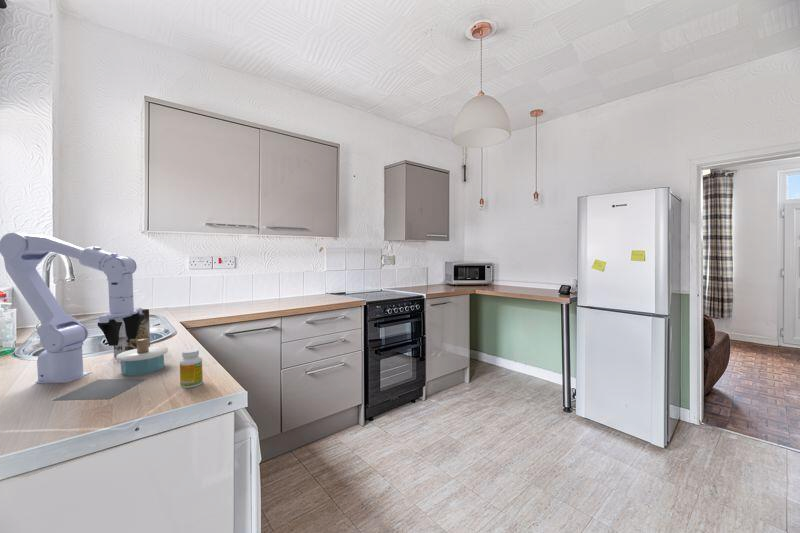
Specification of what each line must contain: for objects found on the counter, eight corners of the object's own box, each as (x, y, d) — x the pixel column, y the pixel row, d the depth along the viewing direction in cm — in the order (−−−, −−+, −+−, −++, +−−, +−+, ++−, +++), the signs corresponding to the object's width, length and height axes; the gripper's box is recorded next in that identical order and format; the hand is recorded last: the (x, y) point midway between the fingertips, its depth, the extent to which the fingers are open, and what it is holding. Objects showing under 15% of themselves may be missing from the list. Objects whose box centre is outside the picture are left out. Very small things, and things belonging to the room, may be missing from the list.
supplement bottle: (198, 387, 96) (197, 352, 95) (176, 389, 95) (175, 354, 94) (205, 380, 101) (204, 347, 100) (185, 381, 100) (184, 348, 99)
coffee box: (128, 358, 122) (126, 313, 121) (113, 357, 123) (111, 312, 123) (151, 351, 131) (149, 308, 130) (137, 350, 132) (135, 308, 132)
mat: (52, 401, 87) (52, 400, 87) (98, 380, 101) (98, 379, 101) (109, 400, 88) (109, 398, 88) (147, 379, 102) (147, 378, 102)
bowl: (112, 376, 104) (111, 360, 104) (138, 365, 115) (137, 350, 115) (149, 376, 105) (148, 359, 104) (171, 364, 115) (171, 349, 115)
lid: (105, 361, 103) (104, 345, 103) (136, 349, 116) (136, 334, 116) (150, 360, 103) (149, 344, 103) (176, 348, 116) (176, 334, 116)
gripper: (116, 300, 97) (118, 348, 98) (151, 293, 111) (152, 335, 112) (90, 300, 97) (92, 348, 97) (128, 294, 111) (129, 336, 112)
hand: (123, 342), depth 105 cm, fingers open, 7 cm apart
